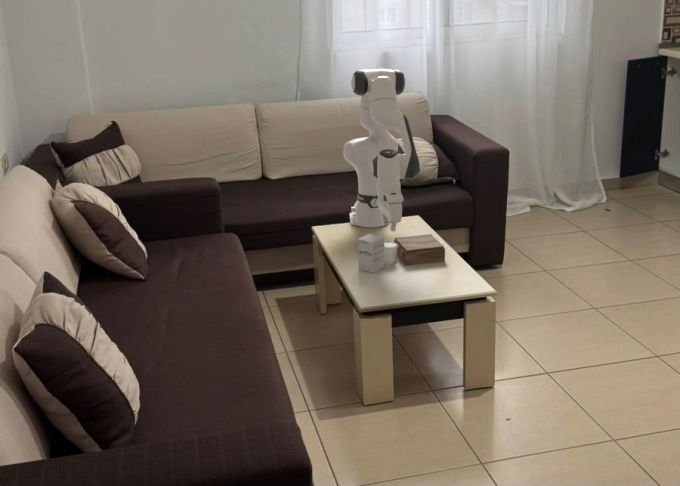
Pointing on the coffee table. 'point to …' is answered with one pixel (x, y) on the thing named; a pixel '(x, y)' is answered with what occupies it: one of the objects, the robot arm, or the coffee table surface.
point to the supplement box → (371, 253)
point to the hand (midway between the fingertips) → (389, 227)
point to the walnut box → (419, 249)
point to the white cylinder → (390, 252)
